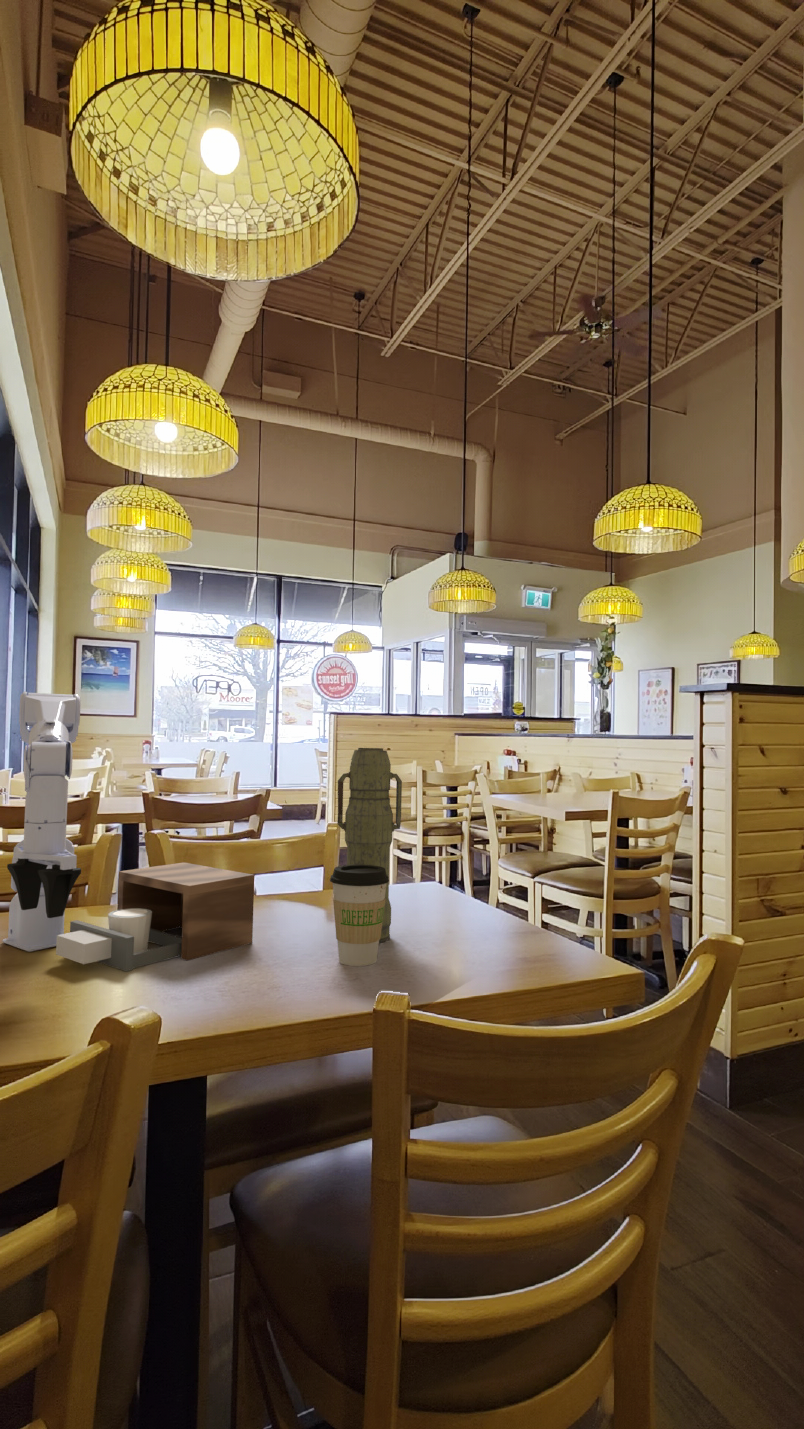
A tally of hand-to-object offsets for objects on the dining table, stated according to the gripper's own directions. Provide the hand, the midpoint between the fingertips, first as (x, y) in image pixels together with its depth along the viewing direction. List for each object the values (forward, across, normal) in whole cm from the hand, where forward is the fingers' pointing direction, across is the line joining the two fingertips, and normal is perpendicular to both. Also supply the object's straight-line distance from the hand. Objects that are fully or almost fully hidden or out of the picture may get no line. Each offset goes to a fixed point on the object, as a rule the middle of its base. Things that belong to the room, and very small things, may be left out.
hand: (41, 912), depth 108 cm
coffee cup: (+10, +31, +37) cm, 49 cm away
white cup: (+10, 0, +15) cm, 18 cm away
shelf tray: (+9, 0, +13) cm, 16 cm away
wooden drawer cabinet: (+9, 0, +26) cm, 28 cm away
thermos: (+10, +23, +49) cm, 55 cm away
